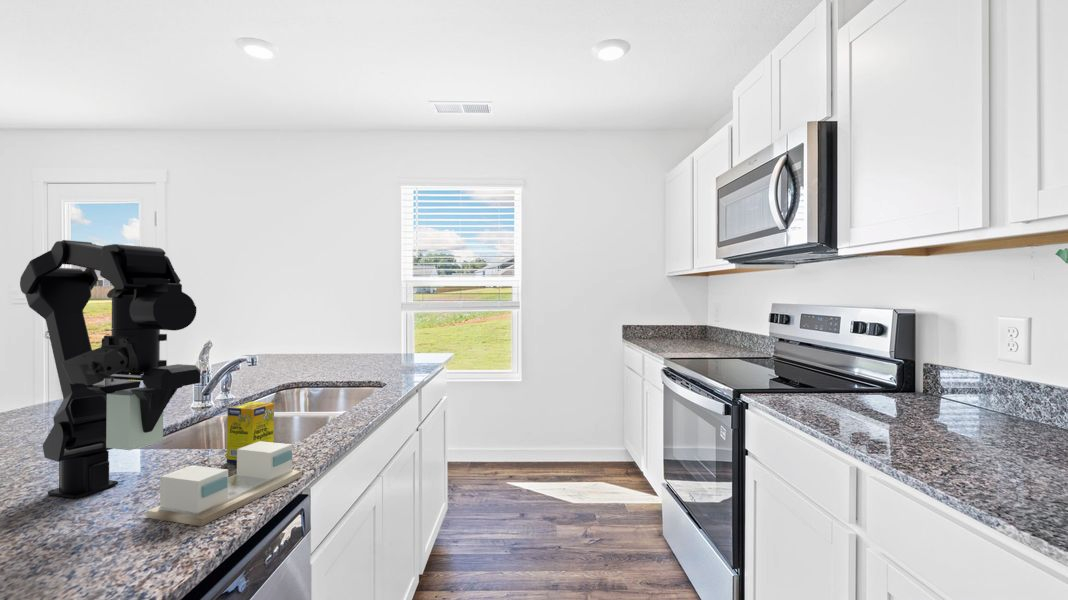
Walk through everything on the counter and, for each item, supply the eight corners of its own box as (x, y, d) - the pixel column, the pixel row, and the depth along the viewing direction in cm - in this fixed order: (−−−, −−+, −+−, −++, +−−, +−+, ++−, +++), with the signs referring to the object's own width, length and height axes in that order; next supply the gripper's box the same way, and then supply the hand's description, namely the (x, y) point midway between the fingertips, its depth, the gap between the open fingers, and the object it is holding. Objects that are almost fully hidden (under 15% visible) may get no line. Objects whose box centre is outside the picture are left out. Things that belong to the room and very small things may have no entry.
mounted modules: (160, 507, 72) (160, 476, 72) (259, 465, 90) (259, 441, 90) (200, 513, 70) (200, 481, 70) (293, 469, 88) (294, 444, 88)
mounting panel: (146, 517, 72) (146, 510, 72) (255, 471, 91) (255, 465, 91) (201, 526, 69) (201, 519, 69) (301, 476, 88) (301, 471, 88)
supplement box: (252, 466, 94) (252, 408, 94) (225, 463, 95) (226, 407, 95) (274, 456, 100) (275, 402, 100) (249, 454, 101) (249, 400, 101)
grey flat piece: (158, 510, 72) (158, 507, 72) (260, 467, 90) (260, 465, 90) (196, 516, 70) (196, 513, 70) (292, 471, 88) (292, 468, 88)
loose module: (106, 447, 73) (106, 391, 73) (140, 438, 78) (141, 386, 78) (129, 450, 72) (130, 393, 72) (163, 440, 77) (163, 387, 77)
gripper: (26, 329, 69) (25, 440, 69) (127, 333, 65) (126, 452, 65) (111, 325, 80) (110, 421, 80) (203, 328, 75) (202, 430, 75)
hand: (135, 430), depth 75 cm, fingers closed on loose module, 4 cm apart
